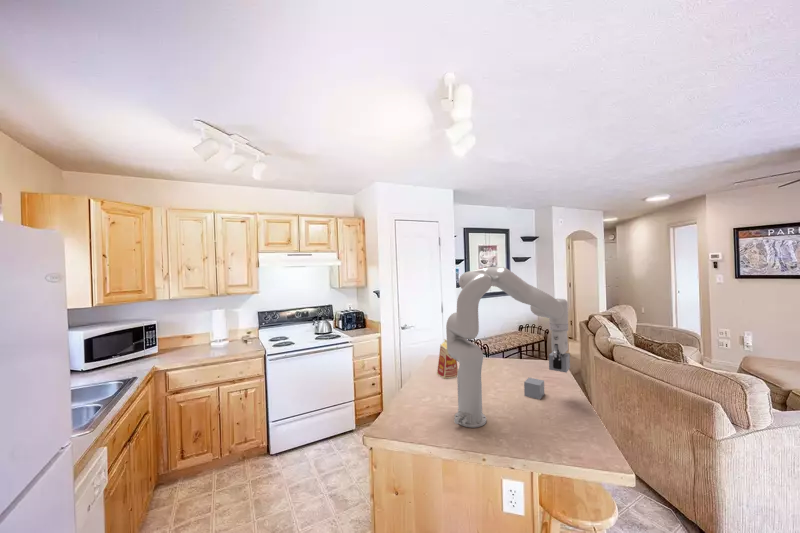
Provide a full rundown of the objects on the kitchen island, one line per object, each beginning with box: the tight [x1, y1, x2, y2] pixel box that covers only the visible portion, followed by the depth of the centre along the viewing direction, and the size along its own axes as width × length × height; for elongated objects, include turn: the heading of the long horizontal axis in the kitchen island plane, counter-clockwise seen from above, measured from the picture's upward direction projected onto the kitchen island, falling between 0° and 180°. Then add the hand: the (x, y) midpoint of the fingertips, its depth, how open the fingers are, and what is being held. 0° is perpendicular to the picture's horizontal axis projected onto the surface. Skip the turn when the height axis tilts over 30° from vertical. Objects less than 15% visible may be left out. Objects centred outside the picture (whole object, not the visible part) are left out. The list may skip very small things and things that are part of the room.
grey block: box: [548, 351, 571, 374], centre depth 143 cm, size 7×7×6 cm
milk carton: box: [436, 338, 459, 380], centre depth 178 cm, size 9×9×20 cm
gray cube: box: [523, 377, 545, 400], centre depth 150 cm, size 7×7×6 cm
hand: (559, 365), depth 143 cm, fingers closed on grey block, 7 cm apart
